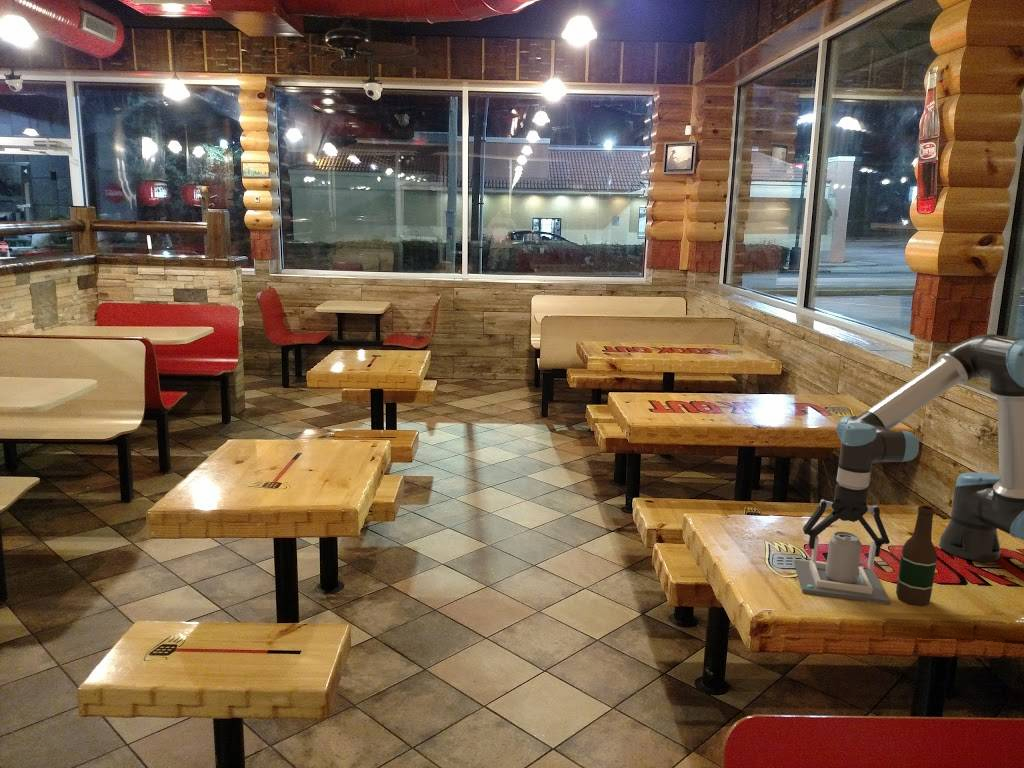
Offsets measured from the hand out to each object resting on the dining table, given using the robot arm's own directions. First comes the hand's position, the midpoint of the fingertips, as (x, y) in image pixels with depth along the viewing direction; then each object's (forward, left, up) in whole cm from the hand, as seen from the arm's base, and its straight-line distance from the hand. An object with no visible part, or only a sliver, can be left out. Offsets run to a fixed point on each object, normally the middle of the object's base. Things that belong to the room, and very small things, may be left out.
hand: (841, 564), depth 198 cm
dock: (0, 0, -5) cm, 5 cm away
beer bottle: (-16, +4, -5) cm, 18 cm away
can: (0, 0, -4) cm, 4 cm away
